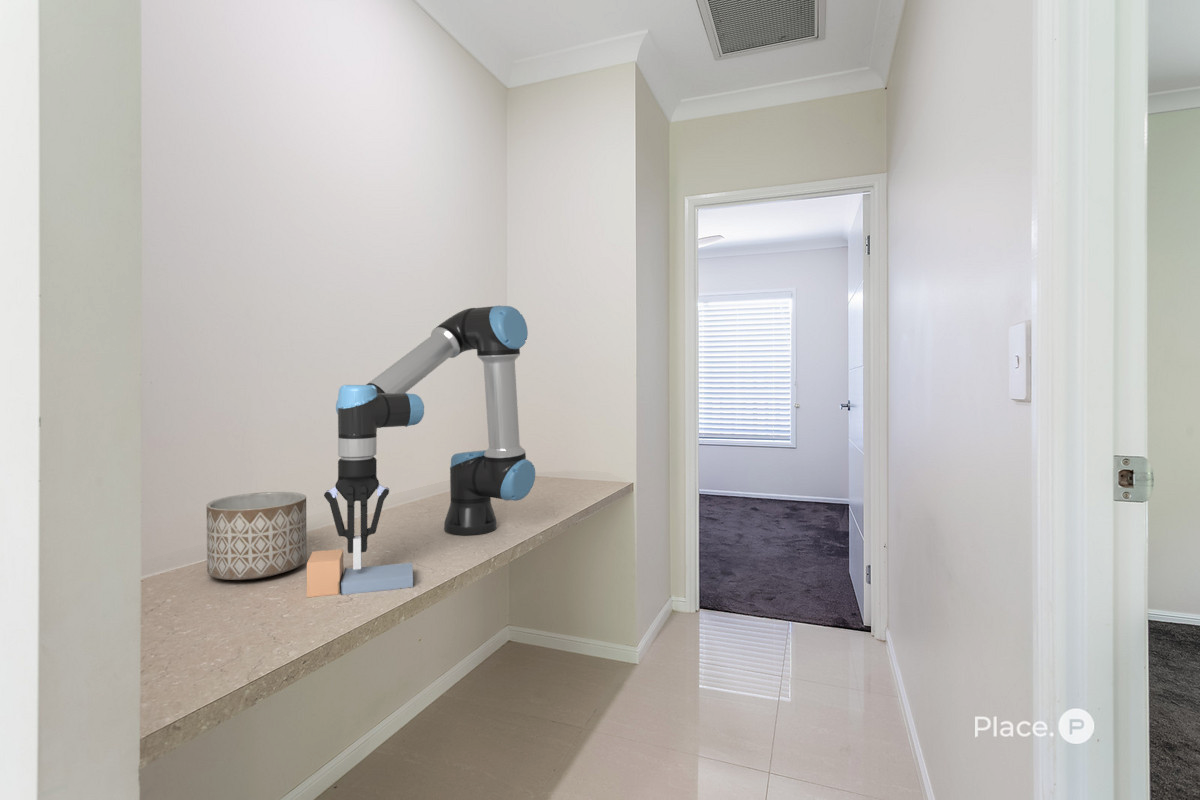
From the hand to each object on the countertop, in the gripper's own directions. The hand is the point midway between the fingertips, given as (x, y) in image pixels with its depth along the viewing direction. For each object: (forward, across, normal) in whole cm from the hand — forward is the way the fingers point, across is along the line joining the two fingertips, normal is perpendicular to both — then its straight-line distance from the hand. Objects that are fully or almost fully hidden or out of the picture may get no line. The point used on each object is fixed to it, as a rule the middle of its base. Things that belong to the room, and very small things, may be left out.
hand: (357, 567), depth 120 cm
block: (+4, +6, 0) cm, 7 cm away
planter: (+4, +22, -16) cm, 27 cm away
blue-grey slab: (+4, -4, 0) cm, 6 cm away
